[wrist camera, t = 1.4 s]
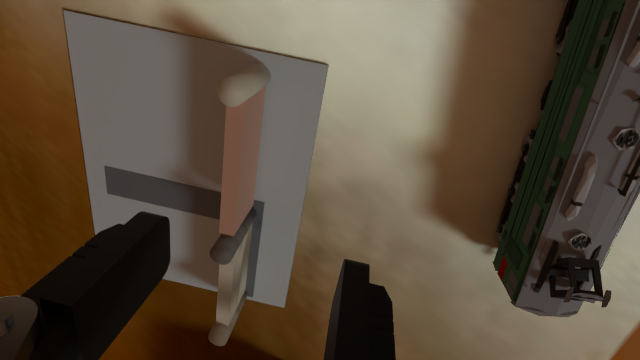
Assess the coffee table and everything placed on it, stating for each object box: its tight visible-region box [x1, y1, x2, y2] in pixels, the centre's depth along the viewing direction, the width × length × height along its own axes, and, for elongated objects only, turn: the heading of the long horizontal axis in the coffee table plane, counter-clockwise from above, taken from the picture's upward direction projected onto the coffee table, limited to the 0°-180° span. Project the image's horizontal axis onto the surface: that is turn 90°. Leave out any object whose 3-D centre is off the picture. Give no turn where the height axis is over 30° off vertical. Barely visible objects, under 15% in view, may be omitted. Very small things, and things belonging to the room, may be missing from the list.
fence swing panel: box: [217, 64, 271, 236], centre depth 26 cm, size 12×2×6 cm, turn 170°
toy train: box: [493, 0, 640, 317], centre depth 21 cm, size 5×31×10 cm, turn 178°
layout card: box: [63, 10, 329, 308], centre depth 33 cm, size 26×21×1 cm
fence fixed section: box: [208, 207, 257, 346], centre depth 32 cm, size 12×2×6 cm, turn 170°
